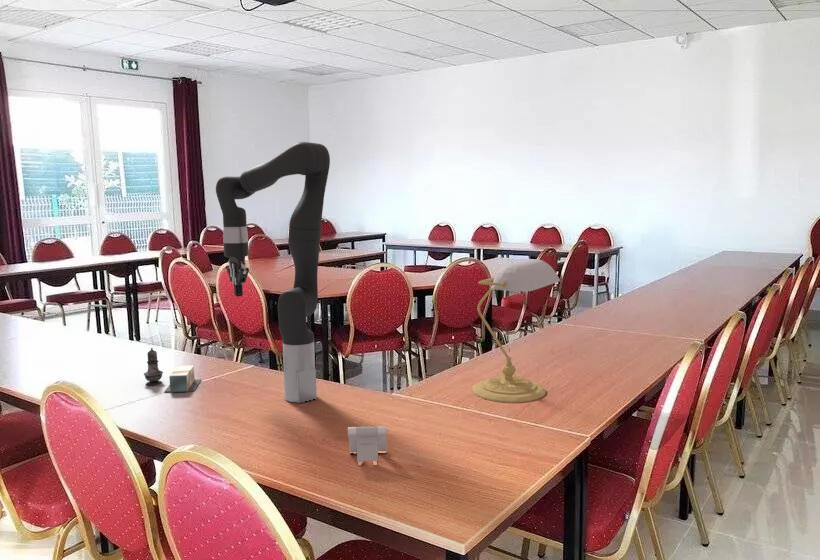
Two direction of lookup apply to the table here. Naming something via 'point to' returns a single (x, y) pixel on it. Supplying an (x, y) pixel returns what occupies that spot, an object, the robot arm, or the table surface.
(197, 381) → the gray rectangular block
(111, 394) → the table surface
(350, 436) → the portable electronic device stand
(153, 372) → the salt shaker
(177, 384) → the birch block
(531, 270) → the desk lamp
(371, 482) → the table surface
